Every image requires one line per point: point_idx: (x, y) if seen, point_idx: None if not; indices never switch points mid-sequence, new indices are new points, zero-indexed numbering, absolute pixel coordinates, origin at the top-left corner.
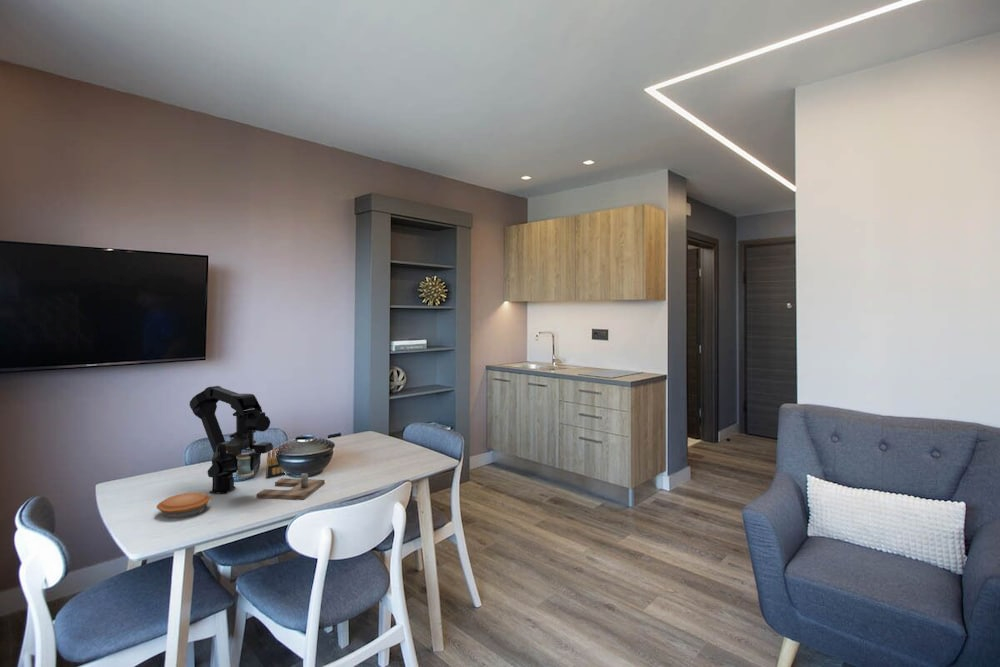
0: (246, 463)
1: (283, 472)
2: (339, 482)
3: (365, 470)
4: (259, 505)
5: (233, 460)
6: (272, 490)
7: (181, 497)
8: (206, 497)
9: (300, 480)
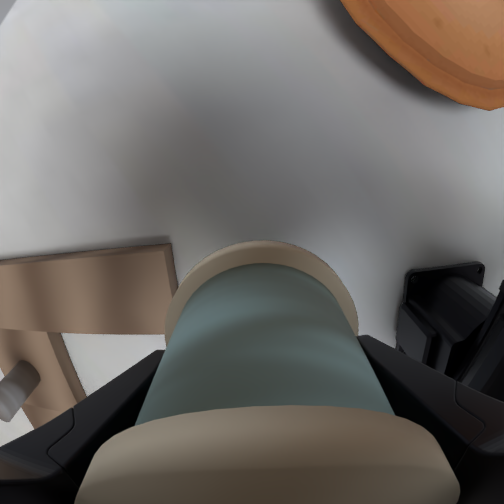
0: (160, 379)
1: None
2: (20, 430)
3: None
4: (79, 141)
5: (470, 395)
6: (115, 320)
7: None
8: (377, 6)
9: None
